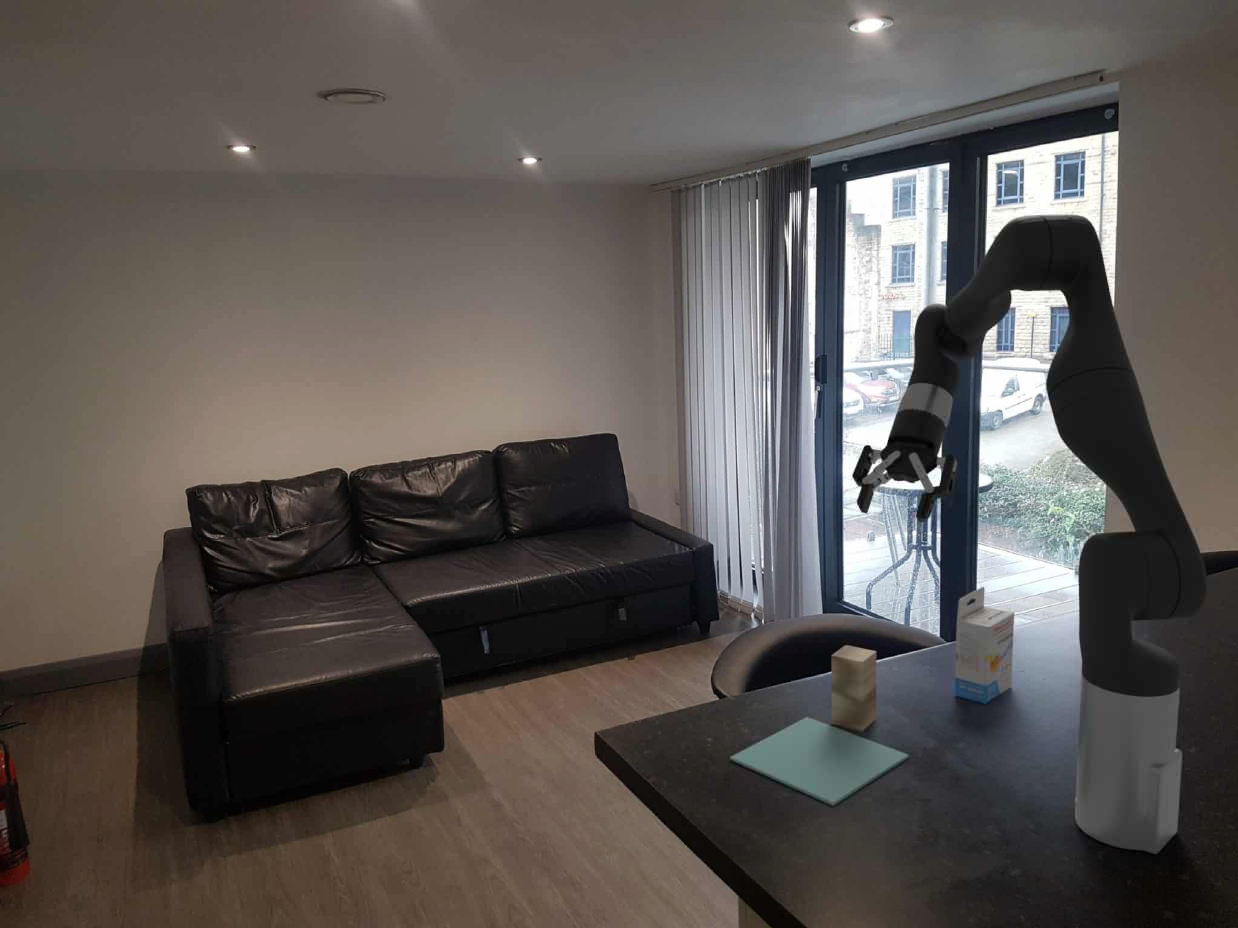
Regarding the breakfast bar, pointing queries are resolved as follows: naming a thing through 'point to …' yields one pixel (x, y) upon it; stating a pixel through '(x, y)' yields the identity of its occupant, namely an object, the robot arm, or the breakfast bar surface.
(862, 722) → the block
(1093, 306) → the robot arm
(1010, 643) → the ink box
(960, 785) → the breakfast bar surface
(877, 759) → the mat
